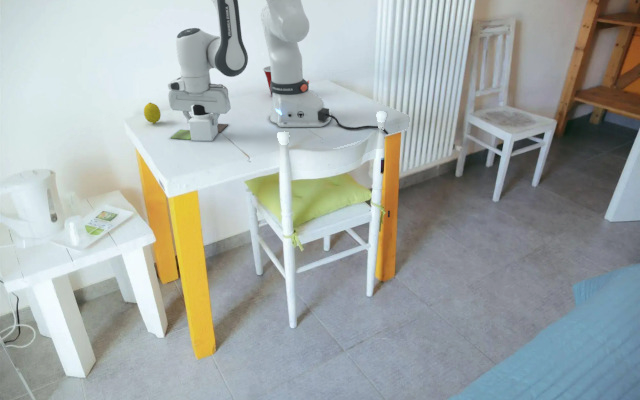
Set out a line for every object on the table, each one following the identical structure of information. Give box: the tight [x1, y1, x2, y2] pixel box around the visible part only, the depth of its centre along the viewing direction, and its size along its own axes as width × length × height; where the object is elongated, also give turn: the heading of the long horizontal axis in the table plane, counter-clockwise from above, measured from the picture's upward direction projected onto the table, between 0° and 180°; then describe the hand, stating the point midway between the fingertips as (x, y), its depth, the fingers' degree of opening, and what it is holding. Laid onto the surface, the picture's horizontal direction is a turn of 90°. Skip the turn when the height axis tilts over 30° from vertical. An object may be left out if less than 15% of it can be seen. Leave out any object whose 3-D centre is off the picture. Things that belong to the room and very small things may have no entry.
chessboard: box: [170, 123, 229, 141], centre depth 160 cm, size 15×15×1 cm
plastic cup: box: [262, 65, 272, 93], centre depth 189 cm, size 11×11×12 cm
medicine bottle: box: [187, 105, 219, 142], centre depth 154 cm, size 7×7×12 cm
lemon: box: [143, 102, 162, 125], centre depth 166 cm, size 6×6×8 cm
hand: (202, 123), depth 154 cm, fingers closed on medicine bottle, 7 cm apart
